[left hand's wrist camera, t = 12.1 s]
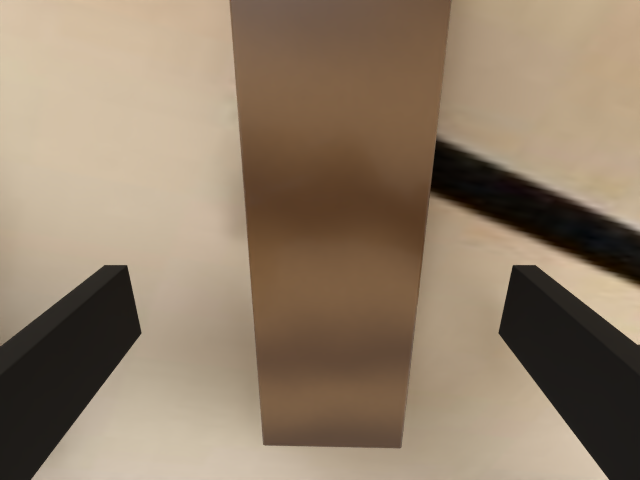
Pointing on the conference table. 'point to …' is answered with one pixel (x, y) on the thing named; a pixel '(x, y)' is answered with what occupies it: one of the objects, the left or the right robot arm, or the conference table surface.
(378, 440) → the beam
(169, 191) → the conference table surface
